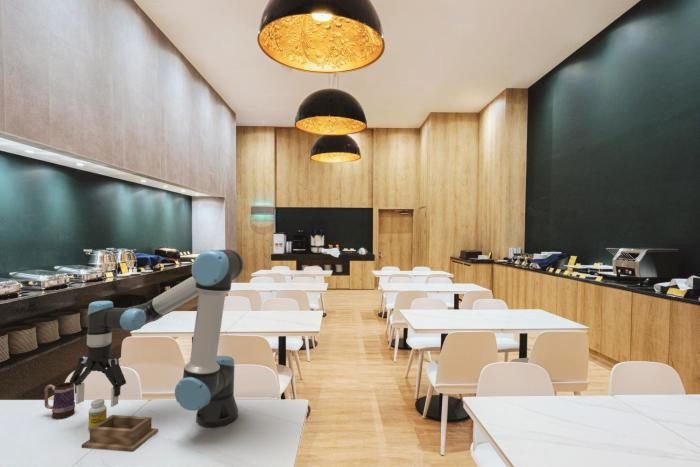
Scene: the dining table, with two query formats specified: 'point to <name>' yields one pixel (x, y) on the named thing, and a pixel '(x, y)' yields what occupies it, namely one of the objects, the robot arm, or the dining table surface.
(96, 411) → the supplement bottle
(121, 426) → the walnut caddy
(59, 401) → the mug
